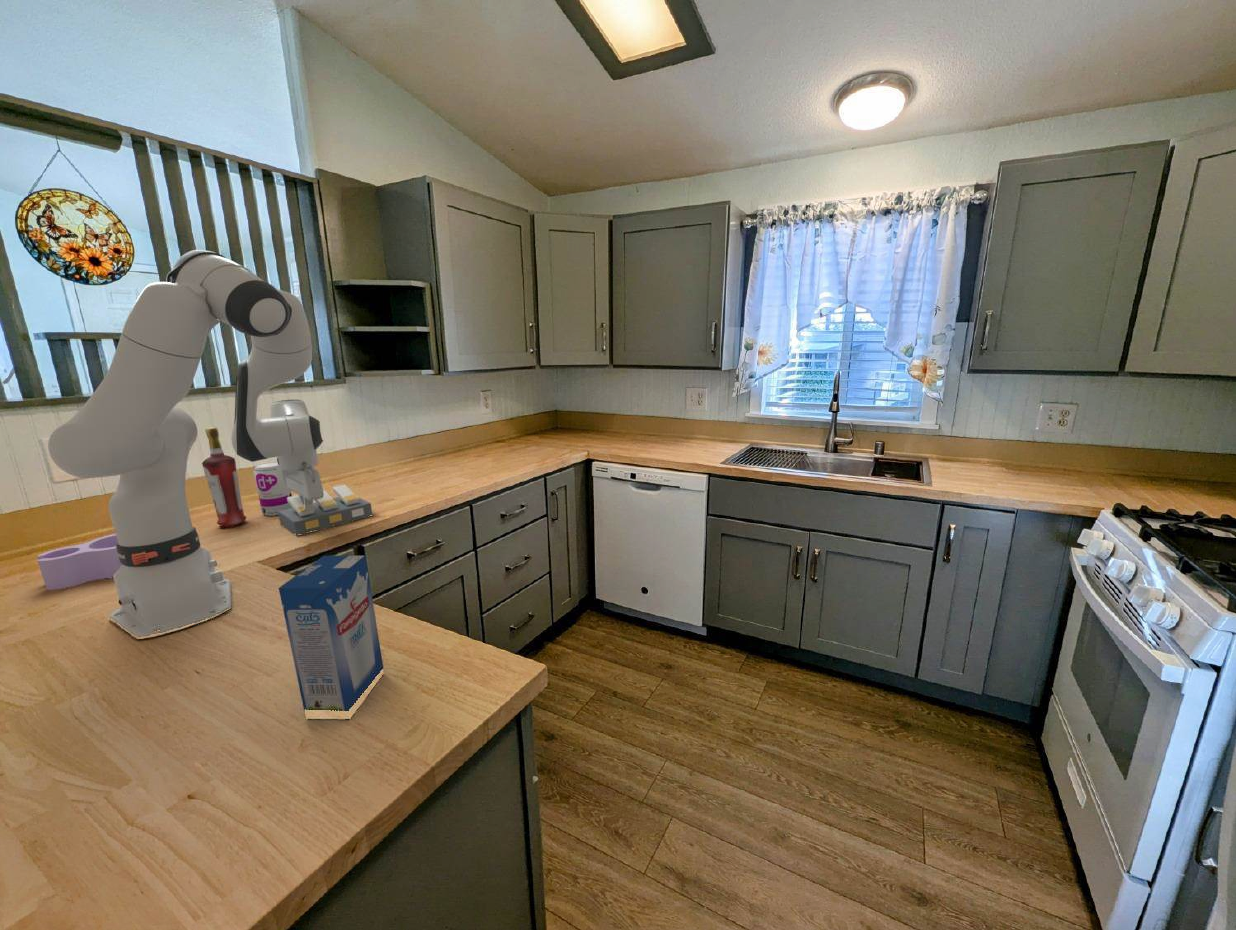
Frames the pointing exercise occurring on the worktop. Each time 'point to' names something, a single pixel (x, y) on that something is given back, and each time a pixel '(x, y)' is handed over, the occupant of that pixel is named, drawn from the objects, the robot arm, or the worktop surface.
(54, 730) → the worktop surface
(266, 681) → the worktop surface
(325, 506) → the rocker
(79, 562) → the lavender double cup holder
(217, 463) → the liquor
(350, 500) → the rocker
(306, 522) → the switch housing
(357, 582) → the milk carton
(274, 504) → the supplement can
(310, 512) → the rocker
